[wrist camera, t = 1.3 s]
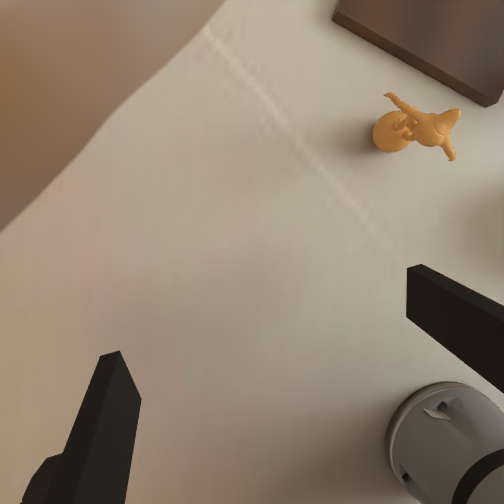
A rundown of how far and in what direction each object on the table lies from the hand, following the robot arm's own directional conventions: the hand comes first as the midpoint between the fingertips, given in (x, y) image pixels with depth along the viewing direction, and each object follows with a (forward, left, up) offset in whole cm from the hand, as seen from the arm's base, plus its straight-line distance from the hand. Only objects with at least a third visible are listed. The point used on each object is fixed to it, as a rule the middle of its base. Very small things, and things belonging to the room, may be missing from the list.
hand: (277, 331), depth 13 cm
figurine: (-9, -18, -20) cm, 28 cm away
